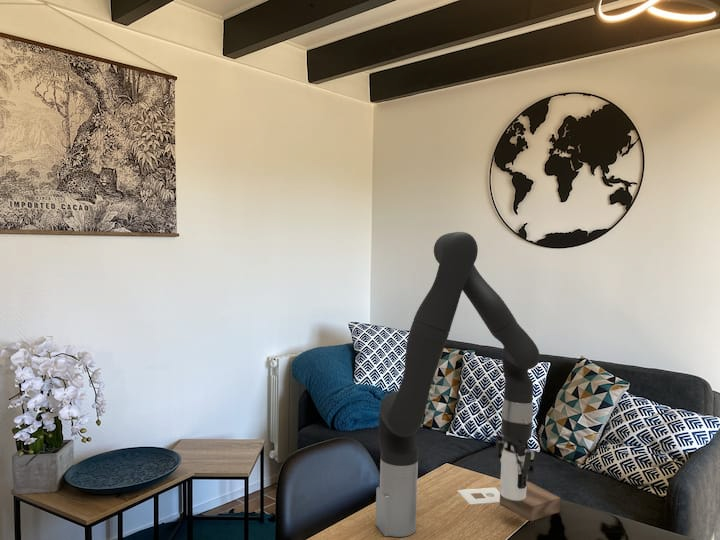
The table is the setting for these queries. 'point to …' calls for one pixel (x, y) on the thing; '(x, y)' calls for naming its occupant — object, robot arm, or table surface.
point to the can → (511, 477)
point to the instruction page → (480, 495)
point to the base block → (534, 503)
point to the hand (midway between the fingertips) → (513, 482)
